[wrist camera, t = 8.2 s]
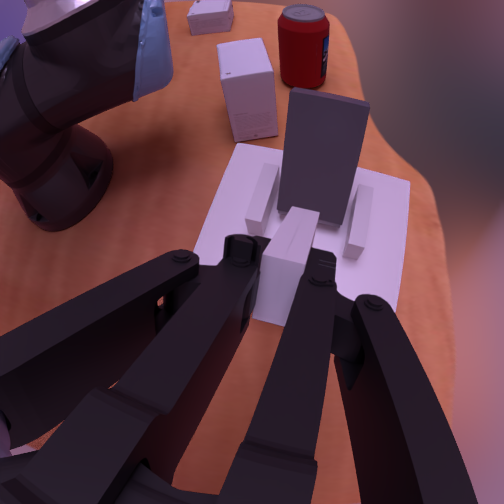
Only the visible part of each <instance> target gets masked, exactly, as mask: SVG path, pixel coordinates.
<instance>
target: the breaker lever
mask: <svg viewBox="0 0 504 504" xmlns="http://www.w3.org/2000/svg"><path fill="white" fill-rule="evenodd" d="M369 110H370V105H369V102H366V101H362V100H358V99H353V98H349V97H345V96H340V95H335V94H330V93H325V92H320V91H315V90H309V89H303V88H297V87H294V88H293V89H292V90H291V91H290V95H289V104H288V113H287V123H286V132H285V141H284V150H283V159H282V167H281V176H280V185H279V193H278V201H277V210H278V213H279V214H283V215H287V214H288V212H289V210H290V209H291V207H292V206H293V207H298V208H303V209H307V210H312V211H316V212H320V214H319V218H318V223H321V224H325V225H329V226H333V227H337V228H340V225H342V224H343V220H344V216H345V213H346V209H347V205H348V201H349V197H350V193H351V190H352V186H353V182H354V177H355V173H356V169H357V165H358V161H359V156H360V152H361V148H362V143H363V139H364V134H365V129H366V125H367V120H368V115H369Z"/></svg>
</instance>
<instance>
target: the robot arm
mask: <svg viewBox="0 0 504 504" xmlns="http://www.w3.org/2000/svg"><path fill="white" fill-rule="evenodd" d="M24 2H25V3H26V5H27V7H28V12H27V16H26V19H25V22H24V25H23V27H22V31H21V33H22V34H23V36H24V38H25V39H26V42H24V43H22V44H20V43H19V39H17V38H15V37H14V36H8V37H7V38H5V39H3V40H2V41H1V42H0V179H1V180H2V181H3V182H5V183H6V184H7V185H8V186H9V187H10V188H11V189H12V190H13V192H14V194H15V196H16V198H17V200H18V201H19V203H20V205H21V207H22V208H23V210H24V212H25V214H26V215H27V217H28V218H29V219H30V220H31V221H32V222H33V223H35V224H36V225H37V226H39V227H40V228H42V229H44V230H46V231H59V230H63V229H66V228H68V227H70V226H72V225H74V224H76V223H77V222H79V221H80V220H81V219H82V218H84V217H85V216H86V215H87V214H88V213H89V212H90V211H91V210H92V209H93V208H94V207H95V206H96V204H97V203H98V202H99V200H100V199H101V197H102V196H103V194H104V192H105V191H106V189H107V186H108V184H109V182H110V179H111V175H112V170H113V159H112V155H111V152H110V150H109V149H108V148H107V146H106V145H105V143H104V142H103V141H102V140H101V139H100V138H99V137H98V136H97V135H95V134H93V133H92V132H90V131H88V130H87V129H85V128H83V127H82V126H80V125H78V123H80V122H82V121H84V120H86V119H88V118H91V117H93V116H95V115H97V114H100V113H102V112H104V111H107V110H109V109H112V108H114V107H116V106H119V105H121V104H124V103H127V102H129V101H133V102H135V101H137V100H138V99H139V98H140V97H142V96H145V95H147V94H150V93H152V92H155V91H157V90H160V89H162V88H164V87H165V86H167V85H168V84H169V82H170V81H171V79H172V77H173V62H172V55H171V48H170V41H169V34H168V27H167V20H166V13H165V6H164V0H24ZM319 214H320V212H316V211H312V210H307V209H303V208H298V207H293V206H292V207H291V209H290V210H289V212H288V214H287V215H286V217H285V218H284V220H283V222H282V223H281V225H280V227H279V228H278V230H277V231H276V233H275V235H274V236H273V238H272V239H270V238H266V237H261V236H257V235H256V236H250V235H245V234H232V235H228V236H226V237H225V241H224V250H223V258H222V260H221V261H220V262H219V263H218V264H217V265H200V264H199V260H200V258H199V256H198V255H197V254H195V253H194V252H191V251H188V250H183V249H179V250H173V251H170V252H167V253H165V254H163V255H161V256H159V257H157V258H154V259H152V260H150V261H148V262H146V263H144V264H142V265H140V266H138V267H136V268H134V269H132V270H129V271H127V272H125V273H123V274H121V275H119V276H117V277H115V278H113V279H111V280H109V281H107V282H105V283H103V284H101V285H99V286H97V287H95V288H93V289H91V290H89V291H87V292H85V293H83V294H81V295H79V296H77V297H75V298H73V299H71V300H69V301H67V302H65V303H63V304H61V305H59V306H57V307H55V308H54V309H52V310H50V311H48V312H46V313H44V314H42V315H40V316H38V317H36V318H34V319H32V320H31V321H29V322H27V323H25V324H23V325H21V326H19V327H17V328H16V329H14V330H12V331H10V332H8V333H6V334H4V335H3V336H1V337H0V504H310V503H311V499H312V494H313V489H314V485H315V480H316V474H317V467H318V466H317V461H316V460H314V454H315V448H316V443H317V437H318V432H319V426H320V420H321V414H322V408H323V402H324V396H325V389H326V382H327V375H328V368H329V360H330V353H332V354H334V355H335V356H334V364H335V368H336V373H337V377H338V382H339V386H340V391H341V396H342V400H343V405H344V410H345V415H346V420H347V425H348V430H349V435H350V441H351V446H352V451H353V457H354V462H355V468H356V474H357V480H358V486H359V492H360V498H361V504H478V502H477V499H476V496H475V493H474V490H473V487H472V484H471V481H470V478H469V475H468V473H467V470H466V467H465V464H464V462H463V459H462V456H461V454H460V451H459V448H458V446H457V443H456V441H455V438H454V436H453V433H452V431H451V429H450V426H449V424H448V421H447V419H446V417H445V414H444V412H443V410H442V408H441V405H440V403H439V401H438V399H437V396H436V394H435V392H434V390H433V388H432V386H431V383H430V381H429V379H428V377H427V375H426V373H425V371H424V369H423V367H422V365H421V363H420V361H419V358H418V356H417V354H416V352H415V351H414V349H413V347H412V345H411V343H410V341H409V339H408V337H407V335H406V333H405V331H404V329H403V327H402V325H401V324H400V322H399V320H398V318H397V316H396V314H395V312H394V311H393V309H392V307H391V305H390V304H389V303H388V302H387V301H385V300H384V299H383V298H381V297H378V296H377V295H371V294H361V295H358V296H357V297H356V299H355V301H353V300H351V299H348V298H346V297H344V296H343V295H341V294H340V293H339V292H338V291H337V284H336V282H335V275H336V262H337V258H336V256H335V255H334V253H333V252H329V251H325V250H321V249H317V248H313V247H312V246H313V241H314V237H315V232H316V228H317V223H318V218H319ZM162 296H163V304H161V305H160V306H158V305H157V301H158V300H159V299H160V298H161V297H162ZM253 308H254V309H253ZM252 310H253V315H252V318H253V319H257V320H261V321H265V322H268V323H272V324H276V325H280V326H284V330H283V333H282V336H281V339H280V342H279V345H278V348H277V351H276V354H275V357H274V359H273V362H272V365H271V368H270V371H269V374H268V377H267V379H266V382H265V385H264V388H263V391H262V393H261V396H260V399H259V402H258V404H257V407H256V410H255V412H254V415H253V418H252V420H251V423H250V426H249V428H248V431H247V433H246V436H245V438H244V441H243V442H242V443H241V444H240V446H239V448H238V451H237V453H236V455H235V458H234V460H233V463H232V465H231V468H230V470H229V472H228V475H227V477H226V480H225V482H224V484H223V487H222V489H221V491H220V494H219V495H212V494H204V493H196V492H189V491H183V490H179V489H176V488H174V487H172V486H171V484H172V480H173V476H174V472H175V469H176V467H177V465H178V463H179V461H180V459H181V457H182V456H183V454H184V452H185V450H186V448H187V446H188V444H189V442H190V440H191V438H192V437H193V435H194V433H195V431H196V429H197V427H198V425H199V423H200V421H201V419H202V417H203V415H204V413H205V411H206V410H207V408H208V406H209V404H210V402H211V400H212V398H213V396H214V394H215V392H216V390H217V388H218V386H219V384H220V382H221V380H222V378H223V376H224V374H225V372H226V370H227V368H228V366H229V364H230V362H231V360H232V358H233V356H234V354H235V352H236V350H237V348H238V346H239V344H240V342H241V340H242V338H243V336H244V334H245V332H246V330H247V328H248V326H249V320H250V314H251V312H252ZM118 380H119V381H118ZM117 381H118V382H117ZM116 382H117V383H116ZM114 383H116V385H114V386H113V387H112V388H110V389H108V388H109V387H110V386H112V385H113V384H114ZM62 421H63V423H62V424H61V425H60V426H59V427H58V428H57V430H56V431H55V432H54V433H53V434H52V436H51V437H50V438H49V439H48V440H47V441H46V443H45V444H44V445H43V446H42V447H41V449H40V450H36V451H32V452H28V453H23V454H19V455H14V456H12V454H11V452H10V451H9V450H11V449H14V448H17V447H20V446H23V445H25V444H27V443H29V442H31V441H34V440H35V439H37V438H39V437H40V436H42V435H43V434H45V433H47V432H48V431H50V430H51V429H52V428H54V427H55V426H57V425H58V424H59V423H61V422H62Z"/></svg>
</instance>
